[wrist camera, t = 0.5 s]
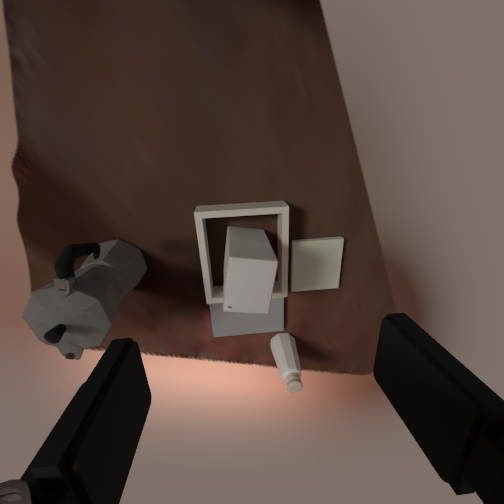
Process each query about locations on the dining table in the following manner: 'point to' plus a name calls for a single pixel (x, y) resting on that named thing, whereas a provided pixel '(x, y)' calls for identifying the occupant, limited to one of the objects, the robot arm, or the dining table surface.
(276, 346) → the pepper shaker
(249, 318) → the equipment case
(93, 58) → the dining table surface
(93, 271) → the coffeepot
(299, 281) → the rubber mat
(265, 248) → the small box
